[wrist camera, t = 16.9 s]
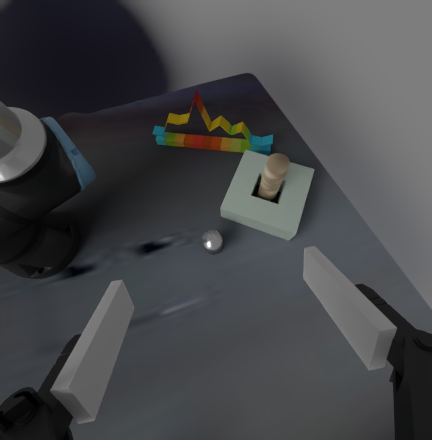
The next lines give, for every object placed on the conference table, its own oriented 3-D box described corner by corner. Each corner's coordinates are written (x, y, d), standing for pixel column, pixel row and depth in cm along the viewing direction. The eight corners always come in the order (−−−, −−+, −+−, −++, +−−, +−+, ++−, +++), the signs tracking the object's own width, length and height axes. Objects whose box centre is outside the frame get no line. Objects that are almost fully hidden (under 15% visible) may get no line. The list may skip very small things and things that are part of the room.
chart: (269, 145, 55) (284, 93, 41) (268, 155, 54) (283, 105, 40) (160, 136, 58) (139, 84, 44) (157, 145, 57) (134, 95, 43)
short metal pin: (202, 250, 45) (198, 245, 41) (209, 234, 46) (206, 227, 42) (218, 257, 45) (217, 252, 40) (225, 240, 46) (225, 234, 41)
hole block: (221, 216, 48) (220, 207, 43) (244, 162, 53) (245, 149, 48) (289, 240, 45) (296, 234, 40) (306, 181, 50) (314, 169, 45)
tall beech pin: (254, 203, 49) (263, 168, 36) (259, 189, 50) (270, 150, 37) (270, 208, 48) (286, 175, 35) (275, 194, 49) (292, 156, 36)
